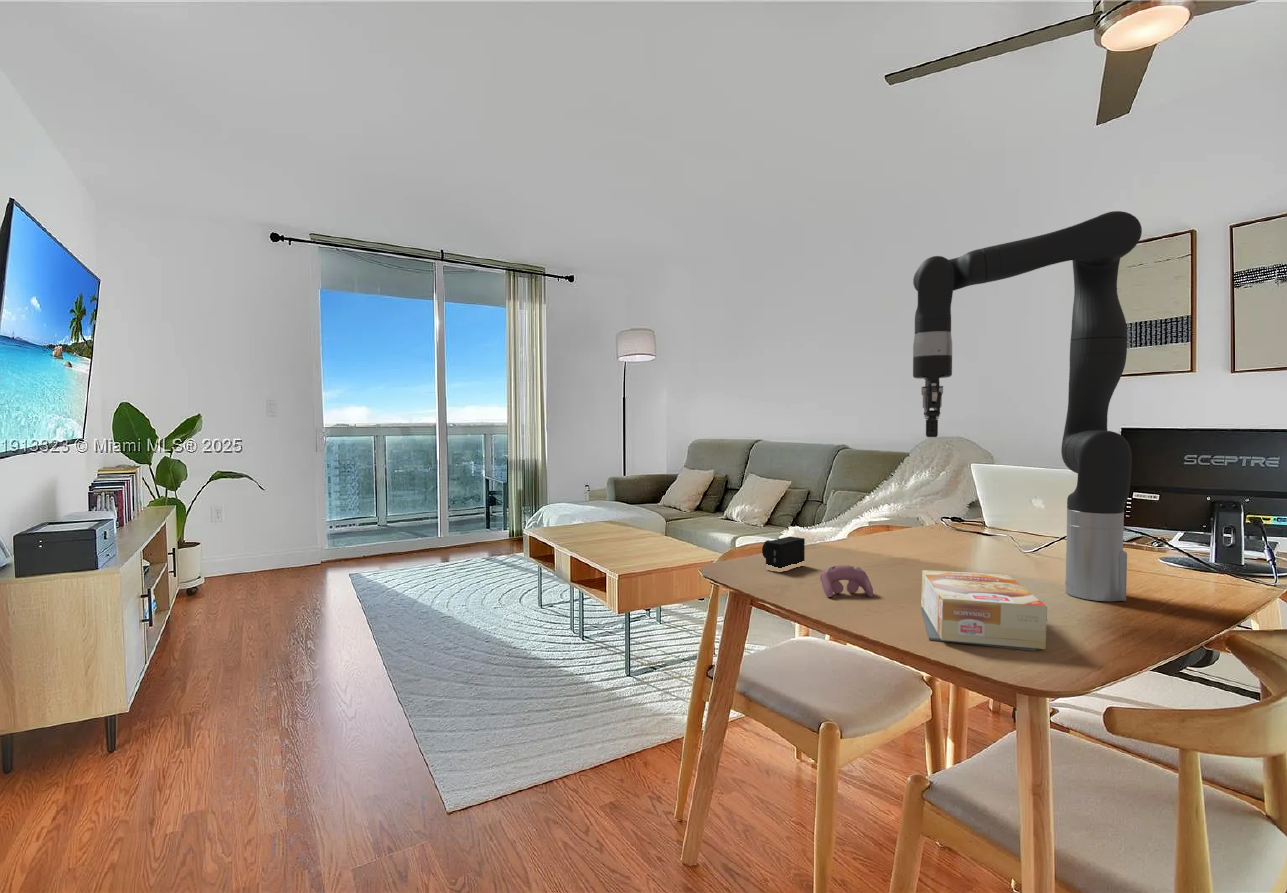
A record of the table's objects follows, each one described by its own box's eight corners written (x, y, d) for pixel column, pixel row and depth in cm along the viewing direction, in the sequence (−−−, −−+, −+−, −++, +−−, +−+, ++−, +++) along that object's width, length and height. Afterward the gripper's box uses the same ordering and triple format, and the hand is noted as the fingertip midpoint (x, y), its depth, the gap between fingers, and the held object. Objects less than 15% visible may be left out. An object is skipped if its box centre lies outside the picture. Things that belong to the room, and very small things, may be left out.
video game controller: (867, 600, 129) (861, 566, 132) (876, 595, 125) (869, 561, 128) (820, 601, 128) (815, 567, 131) (827, 597, 124) (822, 562, 127)
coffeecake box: (1009, 573, 114) (1049, 605, 95) (1008, 612, 114) (1047, 651, 95) (921, 568, 117) (942, 597, 99) (920, 605, 118) (940, 641, 99)
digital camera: (785, 562, 157) (785, 535, 157) (804, 566, 153) (804, 537, 153) (761, 569, 150) (761, 540, 150) (780, 573, 146) (780, 543, 146)
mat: (1012, 617, 112) (1012, 614, 112) (1036, 650, 96) (1036, 648, 96) (921, 609, 117) (921, 607, 117) (929, 639, 101) (929, 637, 101)
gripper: (956, 351, 124) (955, 437, 125) (948, 357, 137) (947, 436, 137) (915, 352, 127) (914, 437, 127) (911, 358, 139) (910, 436, 140)
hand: (931, 436), depth 132 cm, fingers closed
